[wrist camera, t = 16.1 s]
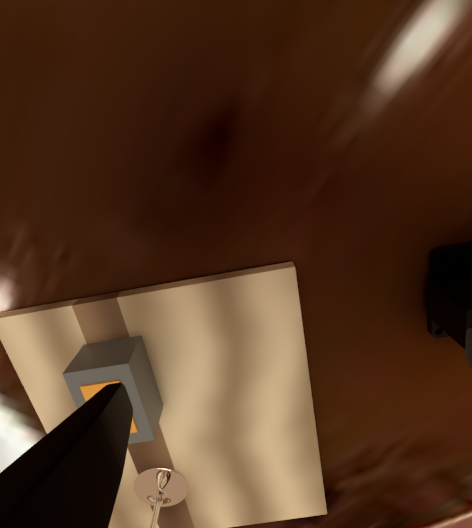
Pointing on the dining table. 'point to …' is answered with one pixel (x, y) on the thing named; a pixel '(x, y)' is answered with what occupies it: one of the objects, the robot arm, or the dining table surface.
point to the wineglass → (160, 489)
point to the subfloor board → (196, 391)
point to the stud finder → (118, 380)
